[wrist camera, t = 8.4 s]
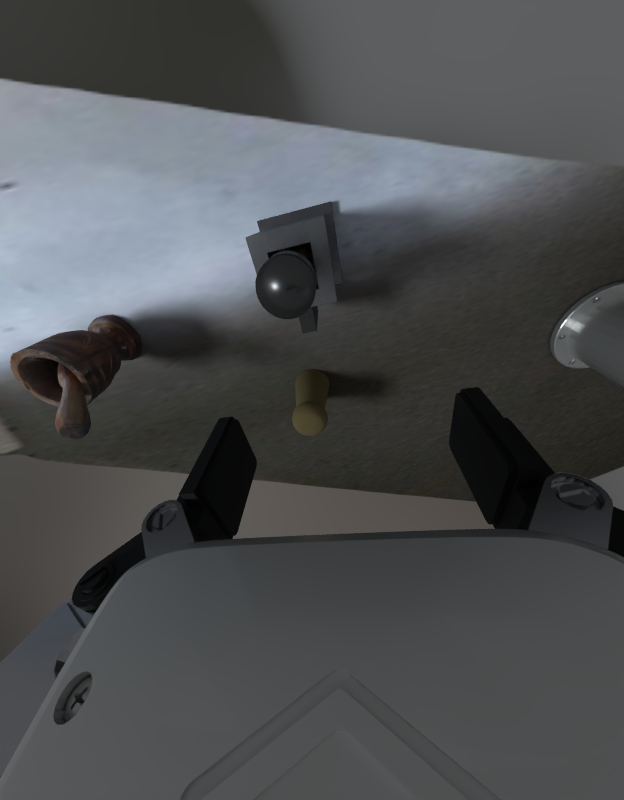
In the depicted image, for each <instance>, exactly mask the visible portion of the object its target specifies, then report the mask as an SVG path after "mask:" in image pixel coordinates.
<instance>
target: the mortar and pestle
mask: <svg viewBox="0 0 624 800" xmlns="http://www.w3.org/2000/svg"><path fill="white" fill-rule="evenodd" d="M140 351H141V341H140V337H139V335H138V333H137V332H136V331H135V330H134V329H133V328H132V327H131V326H130V325H129V324H127V323H126V322H125V321H123V320H121V319H119V318H117V317H114V316H101V317H98V318H96V319H94V320H93V321H92V323H91V324H90V325H89V327H88V331H84V330H78V331H70V332H64V333H59V334H56V335H53V336H51V337H49V338H46V339H44V340H42V341H40V342H38V343H36V344H33V345H31V346H29V347H27V348H25V349H22V350H20V351H18V352H16V353H13V354H12V356H11V361H10V363H11V369H12V372H13V373H14V375H15V377H16V379H17V380H18V381H20V382H21V384H22V385H23V386H24V388H25V389H27V390H28V391H30V392H31V393H32V394H33V395H34V396H36V397H38V398H39V399H41V400H43V401H45V402H47V403H49V404H52V405H55V406H57V407H59V408H58V411H57V415H56V420H55V426H56V430H57V432H58V433H59V434H60V435H61V436H62V437H63V438H65V439H68V440H75V439H80V438H82V437H84V436H85V435H86V434H87V433H88V432H89V429H90V426H91V420H90V415H89V411H88V408H87V405H88V404H89V403H91V402H92V400H93V399H95V398H96V397H97V396H98V395H100V394H101V393H102V392H103V391H104V390H105V389H106V388H107V387H108V386H109V385H110V384H111V382H112V380H113V378H114V376H115V374H116V373H117V372H118V371H119V369H120V365H121V360H133V359H136V358H137V357H138V356H139V354H140Z"/></svg>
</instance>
